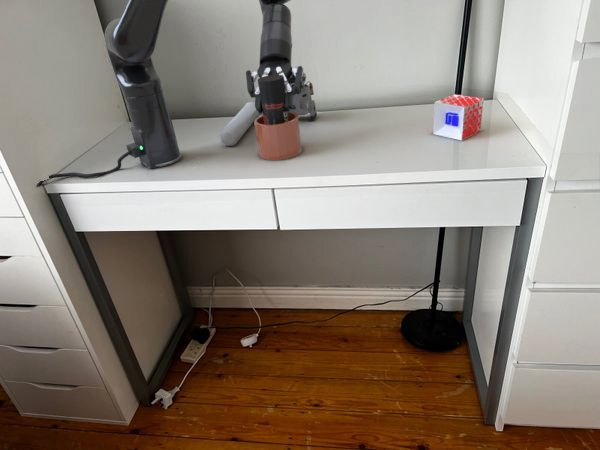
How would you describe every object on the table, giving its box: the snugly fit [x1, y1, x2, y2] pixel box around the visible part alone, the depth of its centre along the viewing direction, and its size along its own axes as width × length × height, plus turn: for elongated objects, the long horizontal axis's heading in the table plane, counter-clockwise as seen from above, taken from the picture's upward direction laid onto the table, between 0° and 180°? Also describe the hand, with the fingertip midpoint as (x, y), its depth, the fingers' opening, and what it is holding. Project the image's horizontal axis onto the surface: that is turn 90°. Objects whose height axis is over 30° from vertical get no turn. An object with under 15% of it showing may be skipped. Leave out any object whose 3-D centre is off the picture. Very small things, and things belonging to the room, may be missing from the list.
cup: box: [253, 112, 302, 161], centre depth 108 cm, size 10×10×8 cm
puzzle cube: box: [432, 93, 485, 141], centre depth 107 cm, size 8×8×8 cm
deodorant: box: [257, 75, 289, 125], centre depth 105 cm, size 6×6×15 cm
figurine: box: [285, 66, 318, 122], centre depth 126 cm, size 9×12×15 cm
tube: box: [219, 101, 261, 147], centre depth 126 cm, size 5×5×25 cm
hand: (273, 110), depth 103 cm, fingers closed on deodorant, 6 cm apart
